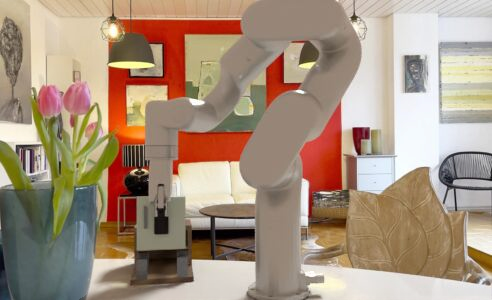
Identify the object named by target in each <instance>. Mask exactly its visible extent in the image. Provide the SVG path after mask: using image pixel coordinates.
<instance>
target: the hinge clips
mask: <svg viewBox="0 0 492 300" xmlns="http://www.w3.org/2000/svg"><path fill="white" fill-rule="evenodd" d="M148 273H149V253H138V258H137V259H136V280H146V279H148ZM179 277H188V256H187V251H177V278H179Z"/></svg>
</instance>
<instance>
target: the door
mask: <svg viewBox="0 0 492 300" xmlns="http://www.w3.org/2000/svg"><path fill="white" fill-rule="evenodd" d="M165 199H166V196H165ZM167 199H168V197H167ZM148 201H149V195H148V196H145V195H144V196H136V223H137V250H161V249H185V219H186V195H171V200H170V202H169V203H168V201H167V204H168V205H167V216H169V232H168V234H161V235H155V234H154V217H155V200H154V202H151V203H152V204H150V203H149V202H148ZM157 203H158V201H157ZM164 203H166V200H165V201H164Z"/></svg>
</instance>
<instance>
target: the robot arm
mask: <svg viewBox="0 0 492 300" xmlns="http://www.w3.org/2000/svg"><path fill="white" fill-rule="evenodd" d="M240 30H241V33H242V35H241V36H240V37H239V38H238V39H237V40H236V41H235V42H234V43H233V44H232V45H231V46H230V47H229V48H228V49H227V50H226V51H225V52H224V53H223V54H222V55H221V56H220V59H219V68H220V76H219V79H218V81H217V82H216V85H215V86H214V87H213V89H212V90H211V91H210V92H209V93H208V94H207V95H206V96H205V97H203V98H202V99H196V98H191V97H185V96H181V97H177V98H172V99H166V100H163V99H160V100H159V99H154V100H150V101H147V102H146V104H145V107H144V108H145V109H144V123H145V124H144V126H145V127H144V161H149V166H148V196H149V201H148V202H149V203H150V204H152V203H151V202H154V200H155V217H154V234H155V235H161V234H168V232H169V216H167V205H168V204H167V201H168V203H169V202H170V200H171V196H172V193H173V173H174V172H173V169H174V166H173V165H174V164H173V163H174V161H178V160H179V131H181V132H188V133H193V132H194V133H206V132H210V131H212V130H213V129H215V128H216V127H217V126H219V125H220V124H221V123H222V122H223V121H224V120H225V119H226V118H227V117H228V116H229V115H231V113H233V111H234V110H235V109H236V108H237V106H238V105H239V103H240V102H241V99H242V98H243V97H244V94H245V93H246V92H247V91H246V90H247V88H248V87H249V86H250V85H251V83H252V82H254V80H256V79H257V78H258V77H259V76H260V75H261V73H262V72H263V71H265V70H266V69H267V68H268V67H269V66H270V65H271V64H272V63H274V62H275V60H277V59H278V58H279V57H280V56H281V55H282V54H283V53H284V52H285V51H286V50H287V49H288V48H289V47H290V45H291V44H292V42H302V41H309V42H310V43H311V45H313V46H314V47H315V48H316V50H317V51H318V58H317V60H316V61H315V62H314V63H313V65H312V66H311V67H310V69H309V70H308V71H307V73H306V75H305V77H304V79H303V81H302V82H301V84H300V85H299V87H298V88H297V90H296V89H295V90H287V91H285V92H283V93H280V94H279V95H278V96H277V97H275V98H274V100H273V101H272V102H270V104H269V105H268V107H267V108H266V110H265V112H264V113H263V115H262V117H261V118H260V120H259V122H258V123H257V125H256V127H255V129H254V130H253V133H252V134H251V136H250V137H249V139H248V141H247V142H246V144H245V146H244V148H243V150H242V152H241V154H240V158H239V163H238V167H239V168H238V169H239V173H240V176H241V178H242V180H243V182H245V184H247V185H248V186H249V187H251V188H252V189H254V190H255V191H256V192H255V201H254V203H255V204H254V232H255V233H254V244H255V245H254V253H255V255H254V258H255V259H254V260H255V261H254V263H255V264H254V265H255V266H254V267H255V269H254V270H255V272H254V273H255V275H254V276H255V281H254V282H252V283H251V284H249V285H248V289H247V293H248V295H249V296H250V298H253V299H255V300H305V299H306V298H307V297H308V296H309V295H310V288H309V286H310V284H315V285H316V284H324V283H325V275H324V274H323V273H315V272H314V271H310V272H309V271H307V272H305V271H304V270H302V243H301V242H302V238H301V237H302V236H301V235H302V229H301V228H302V227H301V226H302V225H301V224H302V223H301V222H302V221H301V218H302V214H301V213H302V212H301V211H302V209H301V208H302V205H301V204H302V186H303V175H304V174H303V171H304V169H303V161H302V158H301V157H302V156H301V155H300V153H301V150H302V149H303V148H304V146H305V145H306V143H307V142H312V141H314V140H317V138H319V137H320V136H321V134H322V133H323V132H324V130H325V128H326V126H327V124H328V123H329V122H330V121H329V120H331V118H332V116H333V114H334V113H335V111H336V109H337V108H338V106H339V105H340V103H341V101H342V100H343V97H344V96H345V94H346V92H347V91H348V89H349V87H350V85H351V84H352V83H353V81H354V79H355V77H356V75H357V72H358V71H359V68H360V67H361V66H360V65H361V62H362V54H363V52H362V49H363V48H362V44H361V40H360V37H359V35H358V33H357V31H356V29H355V27H354V26H353V24H352V22H351V20H350V17H349V16H348V14H347V12H346V10H345V7H344V6H343V5H342V3H341V2H340V1H339V0H257V1H255V2H253V3H251V4H250V5H248V6H247V7H246V9H245V10H244V11H243V14H242V16H241V19H240ZM165 196H166V199H165ZM167 197H168V199H167ZM165 200H166V203H164V201H165ZM157 201H158V203H157Z"/></svg>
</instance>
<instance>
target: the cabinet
mask: <svg viewBox="0 0 492 300" xmlns="http://www.w3.org/2000/svg"><path fill="white" fill-rule="evenodd" d="M192 227H193V226H192V222H191V219H186V218H185V249H161V250H137V222H136V224H135V225H134V227H133V234H134V235H133V239H134V241H133V245H134V247H133V249H134V253H133V254H134V255H133V256H134V257H133V258H134V260H133V261H134V263H133V265H134V269H133V272H132V276H131V278H130V281H129V282H130V283H129V285H130V286H135V285H151V284H167V283H170V284H171V283H181V282H183V283H185V282H195V279H194V278H195V275H194V272H193V271H194V269H193V248H192V247H193V244H192V243H193V240H192V237H193V234H192V232H193V230H192ZM177 251H187V256H188V277H179V278H177ZM138 253H149V273H148V279H146V280H136V259H137V258H138Z"/></svg>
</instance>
